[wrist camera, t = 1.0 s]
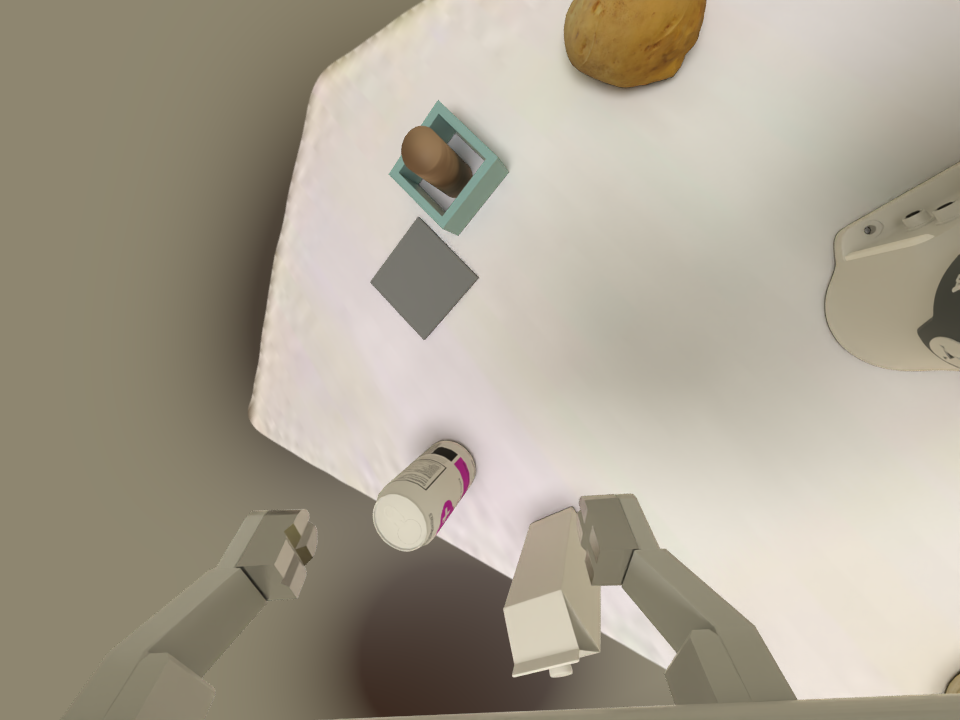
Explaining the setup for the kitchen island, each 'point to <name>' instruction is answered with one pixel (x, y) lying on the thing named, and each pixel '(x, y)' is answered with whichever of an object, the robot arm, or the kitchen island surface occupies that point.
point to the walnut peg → (435, 161)
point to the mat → (423, 278)
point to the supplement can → (423, 496)
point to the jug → (954, 686)
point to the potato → (631, 38)
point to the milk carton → (552, 600)
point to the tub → (475, 188)
